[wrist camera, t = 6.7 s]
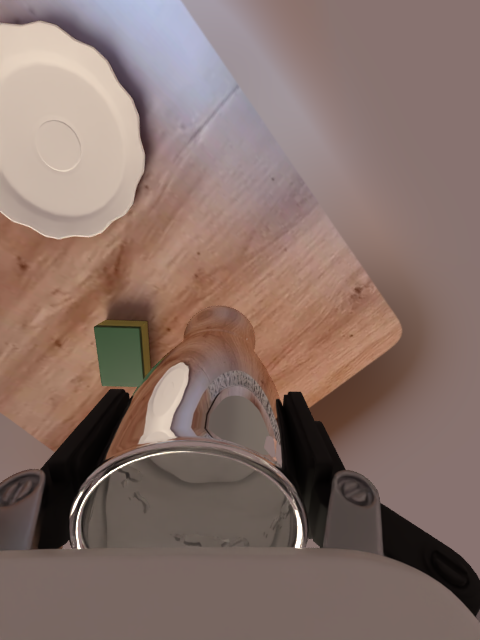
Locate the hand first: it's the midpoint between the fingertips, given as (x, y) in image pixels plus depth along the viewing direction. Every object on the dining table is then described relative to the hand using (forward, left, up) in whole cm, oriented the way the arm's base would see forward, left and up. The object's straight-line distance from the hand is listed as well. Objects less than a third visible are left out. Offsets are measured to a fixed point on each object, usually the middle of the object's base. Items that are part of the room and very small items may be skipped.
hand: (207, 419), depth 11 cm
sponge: (+8, -14, -25) cm, 30 cm away
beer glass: (0, 0, -10) cm, 10 cm away
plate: (-18, -20, -25) cm, 37 cm away
